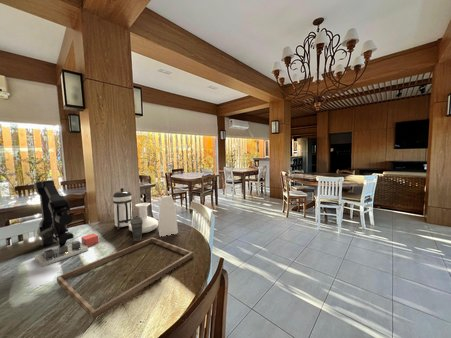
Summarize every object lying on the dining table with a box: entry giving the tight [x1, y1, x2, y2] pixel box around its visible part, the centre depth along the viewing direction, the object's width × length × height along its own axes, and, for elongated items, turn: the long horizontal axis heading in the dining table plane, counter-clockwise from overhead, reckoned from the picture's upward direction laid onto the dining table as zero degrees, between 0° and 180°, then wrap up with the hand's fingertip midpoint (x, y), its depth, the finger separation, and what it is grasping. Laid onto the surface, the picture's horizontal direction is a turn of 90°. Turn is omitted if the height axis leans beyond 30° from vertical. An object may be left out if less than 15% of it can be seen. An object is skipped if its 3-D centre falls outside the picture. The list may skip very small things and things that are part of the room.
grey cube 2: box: [58, 244, 68, 254], centre depth 107 cm, size 3×3×3 cm
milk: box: [157, 195, 179, 238], centre depth 138 cm, size 12×12×26 cm
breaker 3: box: [71, 240, 81, 249], centre depth 112 cm, size 3×3×3 cm
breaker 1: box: [43, 248, 54, 258], centre depth 102 cm, size 3×3×3 cm
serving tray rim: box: [56, 236, 194, 320], centre depth 94 cm, size 35×48×2 cm
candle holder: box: [128, 202, 159, 234], centre depth 142 cm, size 20×20×19 cm
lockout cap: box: [80, 233, 99, 248], centre depth 121 cm, size 7×7×5 cm
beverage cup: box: [131, 209, 143, 242], centre depth 126 cm, size 7×7×20 cm
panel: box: [34, 242, 89, 268], centre depth 108 cm, size 13×20×2 cm, turn 146°
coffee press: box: [112, 187, 133, 231], centre depth 149 cm, size 17×16×30 cm
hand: (61, 248), depth 109 cm, fingers closed
